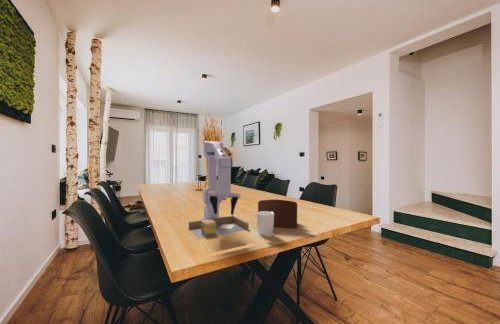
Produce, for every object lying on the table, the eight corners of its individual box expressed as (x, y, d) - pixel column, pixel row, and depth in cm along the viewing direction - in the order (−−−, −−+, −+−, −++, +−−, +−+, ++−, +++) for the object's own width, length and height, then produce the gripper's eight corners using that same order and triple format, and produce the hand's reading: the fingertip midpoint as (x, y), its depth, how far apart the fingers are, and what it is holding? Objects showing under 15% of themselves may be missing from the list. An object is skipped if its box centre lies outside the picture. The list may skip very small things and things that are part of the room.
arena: (188, 230, 103) (188, 221, 103) (233, 222, 116) (233, 215, 116) (199, 240, 90) (199, 231, 90) (248, 231, 102) (248, 223, 102)
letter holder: (297, 229, 107) (297, 200, 107) (257, 226, 110) (257, 199, 110) (296, 223, 117) (296, 197, 116) (260, 221, 120) (260, 195, 120)
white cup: (276, 234, 99) (277, 212, 99) (269, 239, 92) (269, 216, 92) (261, 231, 103) (261, 210, 103) (253, 236, 96) (253, 213, 96)
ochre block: (201, 231, 98) (201, 220, 98) (211, 230, 100) (211, 219, 100) (205, 235, 94) (205, 223, 94) (215, 233, 96) (216, 222, 96)
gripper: (205, 184, 93) (205, 215, 94) (238, 184, 91) (238, 216, 92) (210, 182, 100) (210, 211, 101) (241, 183, 98) (241, 212, 99)
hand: (223, 213), depth 97 cm, fingers open, 7 cm apart
